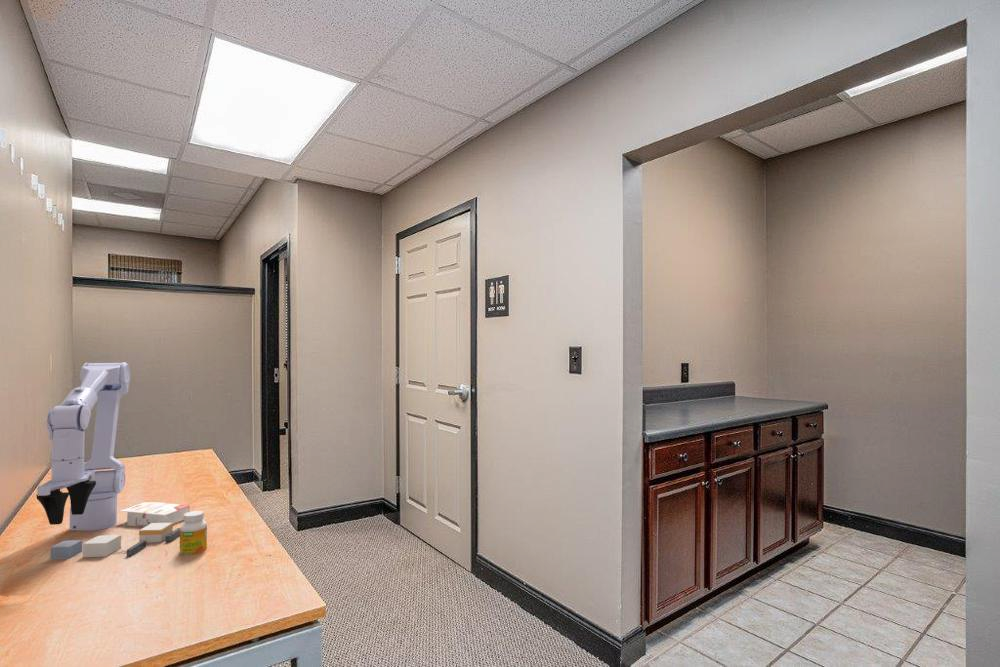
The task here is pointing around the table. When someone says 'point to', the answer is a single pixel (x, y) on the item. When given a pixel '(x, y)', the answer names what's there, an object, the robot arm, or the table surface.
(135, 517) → the ink cartridge box
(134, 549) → the panel
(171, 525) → the block
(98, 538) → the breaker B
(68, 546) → the gray cube
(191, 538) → the supplement bottle
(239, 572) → the table surface
